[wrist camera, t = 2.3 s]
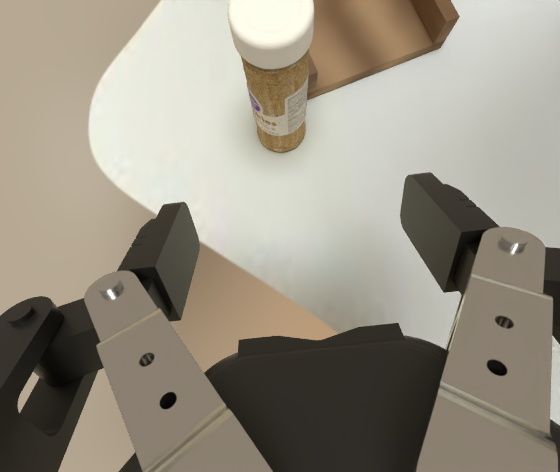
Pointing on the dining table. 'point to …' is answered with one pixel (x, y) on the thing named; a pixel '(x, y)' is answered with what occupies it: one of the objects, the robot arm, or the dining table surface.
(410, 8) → the tray
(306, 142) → the dining table surface
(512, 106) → the dining table surface
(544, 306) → the robot arm
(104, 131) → the dining table surface
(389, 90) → the dining table surface
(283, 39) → the sprinkles bottle
